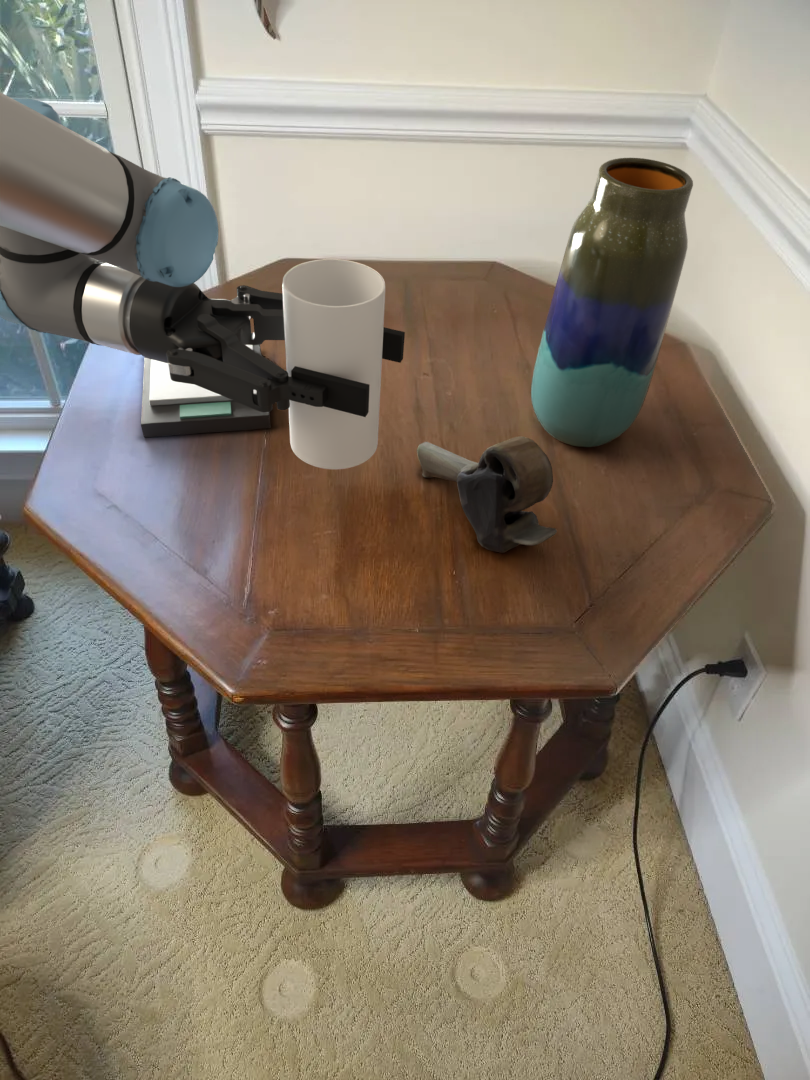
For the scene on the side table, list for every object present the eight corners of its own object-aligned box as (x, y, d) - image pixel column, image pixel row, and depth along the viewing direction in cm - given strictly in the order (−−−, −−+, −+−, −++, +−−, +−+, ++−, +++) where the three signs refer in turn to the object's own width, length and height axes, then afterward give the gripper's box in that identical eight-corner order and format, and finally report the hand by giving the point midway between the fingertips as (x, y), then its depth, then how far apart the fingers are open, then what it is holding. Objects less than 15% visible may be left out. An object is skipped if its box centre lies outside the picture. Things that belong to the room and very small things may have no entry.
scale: (143, 437, 91) (139, 418, 89) (147, 359, 103) (143, 341, 101) (270, 428, 94) (269, 409, 92) (260, 353, 106) (259, 335, 104)
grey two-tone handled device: (402, 471, 90) (407, 387, 82) (442, 454, 93) (450, 371, 84) (519, 582, 79) (538, 498, 70) (560, 559, 81) (584, 475, 73)
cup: (395, 443, 73) (406, 285, 61) (331, 482, 68) (331, 318, 57) (336, 405, 76) (336, 249, 65) (272, 439, 72) (260, 278, 61)
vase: (539, 464, 92) (603, 201, 70) (511, 397, 102) (559, 147, 80) (647, 459, 94) (742, 201, 72) (610, 394, 104) (683, 149, 82)
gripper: (211, 302, 79) (419, 351, 75) (89, 412, 65) (339, 481, 61) (202, 230, 74) (426, 279, 70) (67, 333, 59) (339, 402, 55)
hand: (385, 373), depth 65 cm, fingers closed on cup, 8 cm apart
